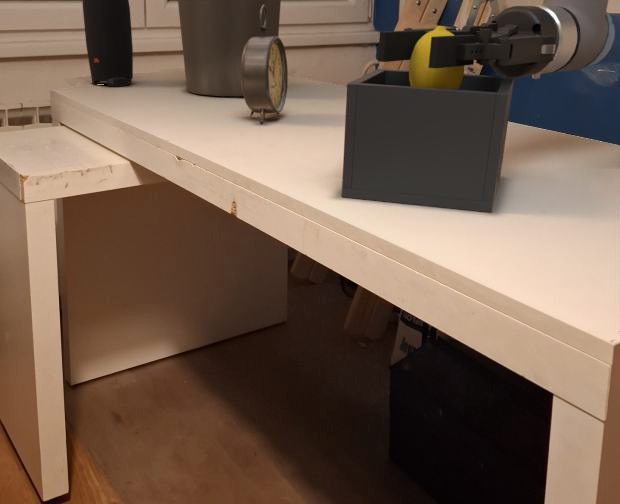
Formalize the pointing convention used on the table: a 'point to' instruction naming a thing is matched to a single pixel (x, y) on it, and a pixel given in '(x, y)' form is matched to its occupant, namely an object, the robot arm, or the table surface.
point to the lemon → (432, 76)
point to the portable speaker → (109, 41)
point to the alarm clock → (264, 73)
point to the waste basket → (221, 40)
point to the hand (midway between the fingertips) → (407, 49)
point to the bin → (425, 140)
